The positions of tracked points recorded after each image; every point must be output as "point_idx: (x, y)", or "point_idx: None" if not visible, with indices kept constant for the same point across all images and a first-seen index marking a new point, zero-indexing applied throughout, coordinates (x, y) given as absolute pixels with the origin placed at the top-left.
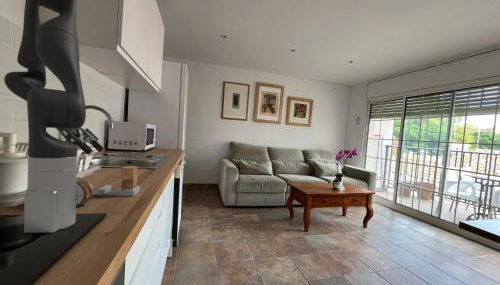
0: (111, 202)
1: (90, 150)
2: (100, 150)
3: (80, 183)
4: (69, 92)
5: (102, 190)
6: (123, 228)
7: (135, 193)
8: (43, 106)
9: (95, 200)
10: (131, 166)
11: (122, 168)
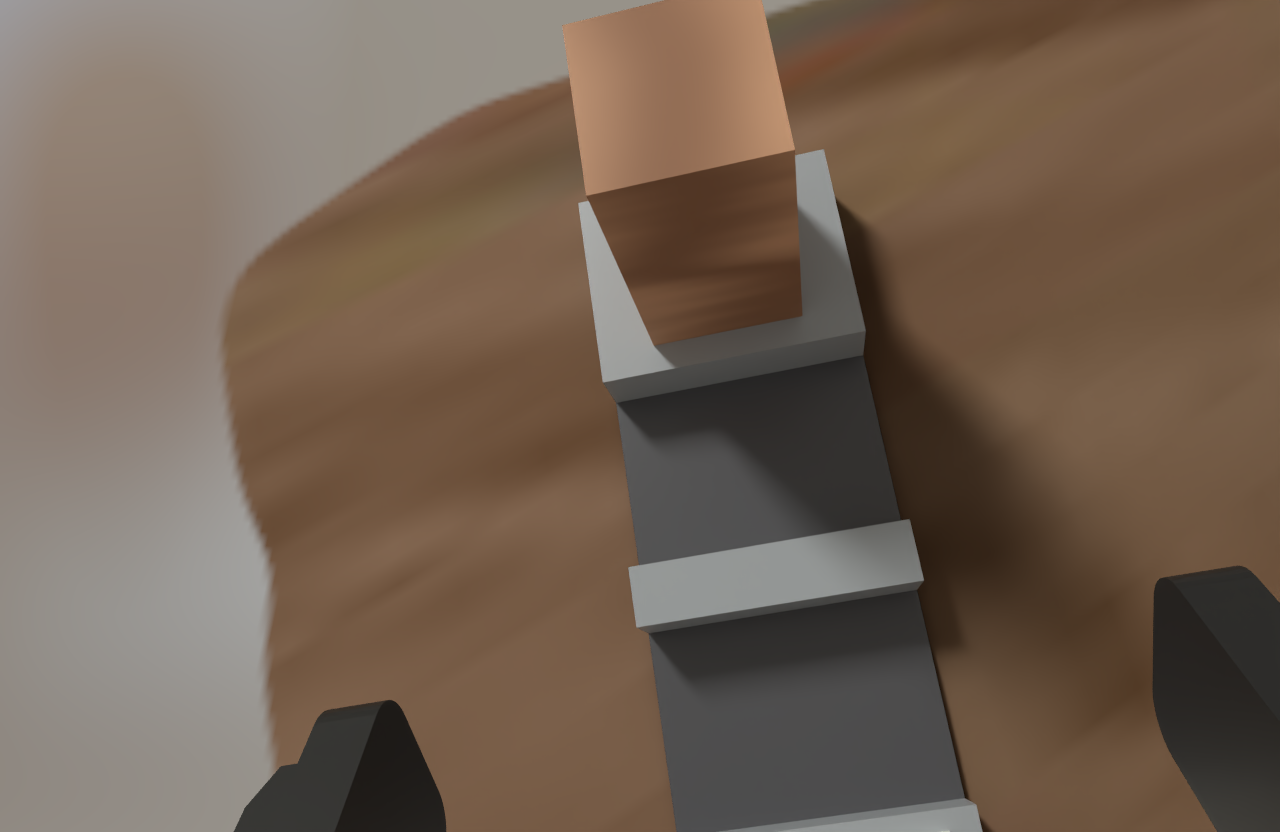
0: (1131, 267)
1: (1255, 597)
2: (423, 786)
3: None
4: None
5: (905, 522)
6: None
7: None
8: None
9: (1122, 481)
10: (604, 96)
11: (793, 151)
